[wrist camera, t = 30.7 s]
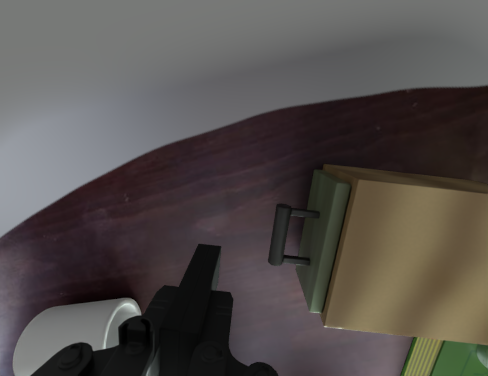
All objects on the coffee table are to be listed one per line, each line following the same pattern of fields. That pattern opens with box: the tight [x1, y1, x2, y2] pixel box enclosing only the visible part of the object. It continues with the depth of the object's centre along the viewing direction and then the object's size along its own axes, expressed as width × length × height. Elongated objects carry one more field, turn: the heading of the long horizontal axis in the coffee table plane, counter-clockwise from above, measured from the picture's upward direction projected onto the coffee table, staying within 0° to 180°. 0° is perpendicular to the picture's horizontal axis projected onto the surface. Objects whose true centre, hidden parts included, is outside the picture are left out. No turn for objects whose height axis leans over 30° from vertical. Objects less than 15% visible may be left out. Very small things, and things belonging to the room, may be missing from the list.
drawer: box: [268, 169, 352, 313], centre depth 23 cm, size 20×12×7 cm, turn 84°
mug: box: [13, 298, 141, 376], centre depth 28 cm, size 12×10×8 cm
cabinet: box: [319, 164, 488, 345], centre depth 23 cm, size 17×14×9 cm
